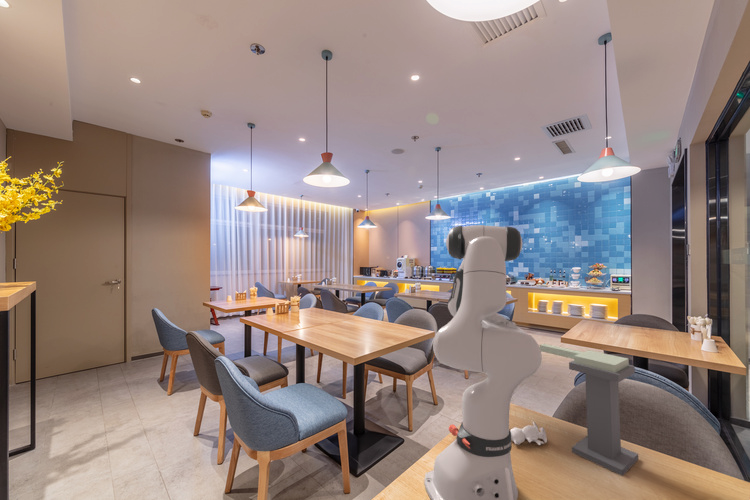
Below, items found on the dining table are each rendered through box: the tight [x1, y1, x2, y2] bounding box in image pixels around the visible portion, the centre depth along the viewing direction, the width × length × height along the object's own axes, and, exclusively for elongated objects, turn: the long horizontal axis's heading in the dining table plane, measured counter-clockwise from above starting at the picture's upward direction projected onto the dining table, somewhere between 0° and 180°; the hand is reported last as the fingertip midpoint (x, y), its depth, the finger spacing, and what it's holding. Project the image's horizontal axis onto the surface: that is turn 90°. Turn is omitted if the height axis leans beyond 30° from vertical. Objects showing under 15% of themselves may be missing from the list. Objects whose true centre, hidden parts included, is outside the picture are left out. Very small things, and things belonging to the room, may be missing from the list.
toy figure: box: [510, 421, 548, 446], centre depth 95 cm, size 11×5×12 cm
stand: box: [568, 360, 639, 477], centre depth 88 cm, size 12×12×26 cm
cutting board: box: [539, 343, 630, 373], centre depth 93 cm, size 10×22×2 cm, turn 34°
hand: (519, 342), depth 107 cm, fingers open, 8 cm apart
